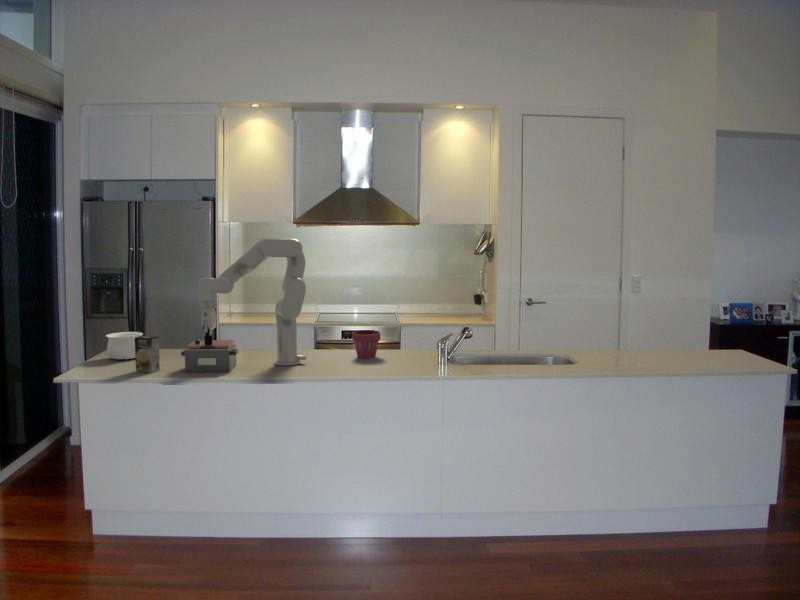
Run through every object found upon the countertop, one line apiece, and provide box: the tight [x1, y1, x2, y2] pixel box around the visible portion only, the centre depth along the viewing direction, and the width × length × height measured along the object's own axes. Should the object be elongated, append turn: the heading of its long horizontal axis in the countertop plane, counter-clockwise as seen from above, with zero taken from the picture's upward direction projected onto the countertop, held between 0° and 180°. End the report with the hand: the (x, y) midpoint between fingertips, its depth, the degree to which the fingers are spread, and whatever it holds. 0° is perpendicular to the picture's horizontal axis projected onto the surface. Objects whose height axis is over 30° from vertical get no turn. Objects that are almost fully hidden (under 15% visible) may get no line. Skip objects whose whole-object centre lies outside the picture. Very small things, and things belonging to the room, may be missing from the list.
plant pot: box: [351, 329, 381, 360], centre depth 352 cm, size 14×14×13 cm
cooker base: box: [180, 343, 239, 373], centre depth 325 cm, size 25×17×10 cm
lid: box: [186, 339, 236, 349], centre depth 325 cm, size 19×16×3 cm
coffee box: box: [134, 334, 161, 374], centre depth 320 cm, size 9×6×16 cm
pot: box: [105, 331, 144, 361], centre depth 352 cm, size 22×17×12 cm
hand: (208, 344), depth 322 cm, fingers closed
